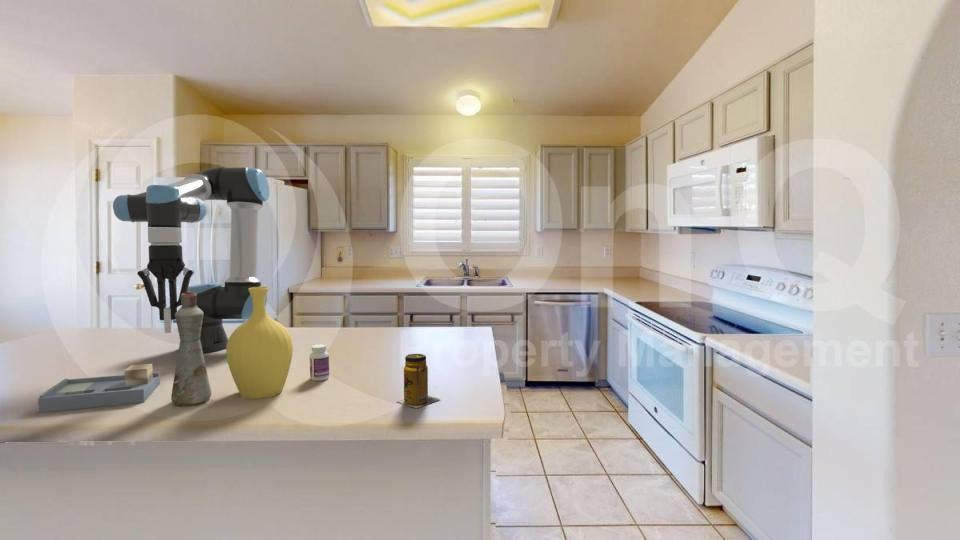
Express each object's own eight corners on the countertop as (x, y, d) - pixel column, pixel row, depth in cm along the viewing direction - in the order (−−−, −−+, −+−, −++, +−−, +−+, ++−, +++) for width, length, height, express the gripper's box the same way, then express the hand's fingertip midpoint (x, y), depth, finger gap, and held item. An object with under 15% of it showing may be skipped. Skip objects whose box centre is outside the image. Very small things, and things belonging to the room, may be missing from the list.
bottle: (183, 410, 118) (178, 294, 115) (164, 403, 123) (158, 291, 120) (219, 399, 125) (214, 290, 122) (199, 393, 130) (194, 288, 127)
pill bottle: (333, 376, 145) (332, 344, 144) (321, 382, 140) (321, 348, 139) (317, 374, 147) (317, 342, 146) (306, 380, 142) (305, 347, 141)
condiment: (396, 402, 125) (396, 355, 124) (421, 393, 131) (421, 349, 130) (416, 409, 120) (416, 361, 119) (440, 400, 127) (440, 354, 126)
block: (153, 377, 134) (152, 363, 134) (147, 383, 130) (147, 368, 129) (131, 379, 133) (130, 365, 132) (125, 385, 128) (124, 370, 128)
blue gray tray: (159, 383, 137) (159, 370, 136) (144, 402, 123) (143, 387, 122) (66, 392, 129) (65, 378, 129) (39, 412, 115) (37, 397, 115)
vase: (279, 378, 143) (276, 282, 140) (304, 392, 131) (301, 288, 129) (219, 391, 131) (215, 287, 129) (240, 407, 120) (236, 294, 117)
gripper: (196, 243, 136) (199, 327, 138) (140, 243, 132) (144, 330, 133) (190, 244, 129) (194, 333, 131) (131, 244, 125) (136, 336, 126)
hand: (169, 331), depth 132 cm, fingers closed
